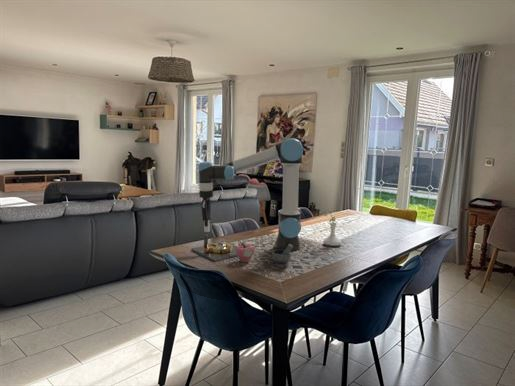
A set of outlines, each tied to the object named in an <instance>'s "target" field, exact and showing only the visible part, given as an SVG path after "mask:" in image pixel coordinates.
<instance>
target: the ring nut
mask: <svg viewBox="0 0 515 386" xmlns="http://www.w3.org/2000/svg"><path fill="white" fill-rule="evenodd" d="M208 238H209V235H208V234H206V233H205V234H203V246H204V252H206V247H208V245H209V251H211V252H215V253H226V252H231V251H232V250H233V245H234V244H233V245H231V244H232V243H230V244H228V243H229V242H228V243H226V242H227V241H225V240H222V242H221V243H225V244H226V248H219V247H220V246H216V247H215V244H216V243H217V242H215V243H214V242H210V243H208V240H209V239H208Z"/></svg>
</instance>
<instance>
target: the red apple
mask: <svg viewBox="0 0 515 386" xmlns="http://www.w3.org/2000/svg"><path fill="white" fill-rule="evenodd" d="M236 253H237V258H238V259H239V261H240V262H241V263H248V262H249V261H250V260H251V258H252V257H253V255H254V253H255V248H254V246H253V245H251V244H244V243H243V242H241V243H240V245H239V246H238V247H237V249H236Z"/></svg>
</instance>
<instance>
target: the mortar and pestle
mask: <svg viewBox="0 0 515 386" xmlns="http://www.w3.org/2000/svg"><path fill="white" fill-rule="evenodd" d="M292 248H293V246H292V245H291V244H288V247H287V248H286V249H285V250H280V249H275V250H272V251H271V257H272V260H273V261H274V265H275V267H279V268H285V267H287V266H288V262H289V261H290V260H291V257H292V251H291V249H292Z"/></svg>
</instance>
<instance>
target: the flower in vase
mask: <svg viewBox="0 0 515 386" xmlns="http://www.w3.org/2000/svg"><path fill="white" fill-rule="evenodd" d="M332 208H333V205H330V206H329V209H327V210H326V212H325V213H324V216H323V217H327V216H328V215H329V213H330V216H331V219H329V222H328V224H329V225H330V234H329V235H328V236H326V237H325V238H324V239H323V240H322V242H323V244H324V245H326V246H330V247H331V246H332V247H337V246H341V245H342V241H341V239H340V238H338V236H336V234H335V231H336V228H337V225H338V222H335V221H336V217H335V216H333V215H332V212H331V211H332Z"/></svg>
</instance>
